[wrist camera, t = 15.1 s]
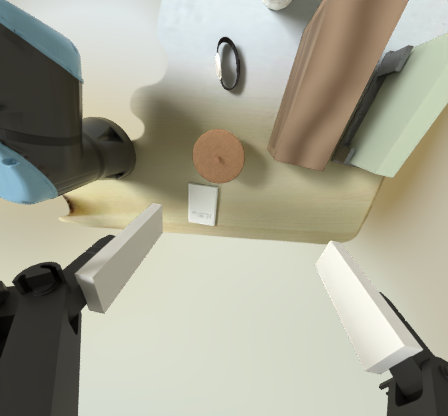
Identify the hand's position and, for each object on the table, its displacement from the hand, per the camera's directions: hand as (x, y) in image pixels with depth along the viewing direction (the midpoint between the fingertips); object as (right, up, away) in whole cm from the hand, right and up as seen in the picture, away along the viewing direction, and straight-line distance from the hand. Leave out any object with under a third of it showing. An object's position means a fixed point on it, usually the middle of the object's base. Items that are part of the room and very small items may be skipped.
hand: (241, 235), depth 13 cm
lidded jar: (-2, +16, +27) cm, 32 cm away
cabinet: (+15, +24, +21) cm, 35 cm away
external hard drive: (-7, +4, +35) cm, 36 cm away
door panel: (+28, +20, +19) cm, 40 cm away
